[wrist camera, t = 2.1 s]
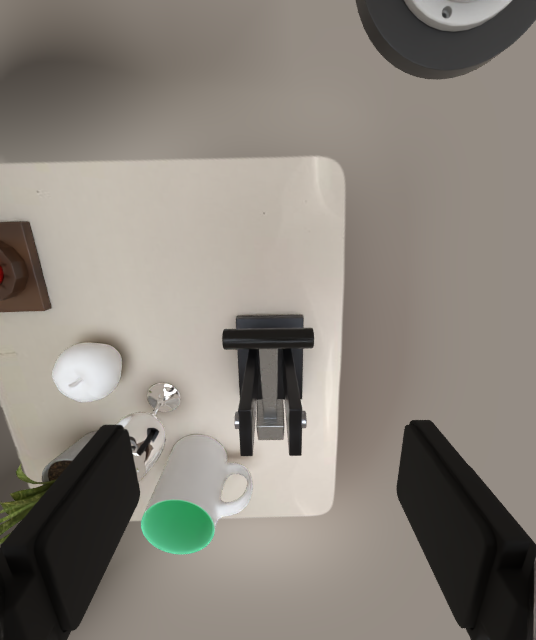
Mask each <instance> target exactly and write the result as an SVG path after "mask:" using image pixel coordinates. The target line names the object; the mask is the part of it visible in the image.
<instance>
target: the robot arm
mask: <svg viewBox="0 0 536 640" xmlns="http://www.w3.org/2000/svg"><path fill="white" fill-rule="evenodd" d="M404 1H405V3H406V5H407V6H408V8H409V9H410V10H411V12H412V13H413V14H414V15H415V16H416V17H417V18H418V19H419V20H421V21H422V22H424V23H425V24H427V25H428V26H430V27H433V28H436V29H438V30H441V31H451V32H456V31H463V30H469V29H471V28H474V27H477V26H480V25H482V24H483V23H485V22H487V21H488V20H490V19H492V18H493V17H495V16H496V15H497V14H498V13H499V12H500V11H502V10H503V9H504V8H505V7H506V6H507V5H508V4H509V3H510V2H511V1H512V0H404ZM397 495H398V498H399V501H400V503H401V505H402V508H403V510H404V512H405V514H406V516H407V518H408V520H409V522H410V524H411V527H412V529H413V531H414V533H415V535H416V537H417V539H418V541H419V543H420V546H421V548H422V550H423V552H424V554H425V556H426V558H427V560H428V562H429V565H430V567H431V569H432V571H433V573H434V575H435V577H436V580H437V582H438V584H439V586H440V588H441V590H442V592H443V594H444V596H445V599H446V601H447V603H448V605H449V607H450V609H451V611H452V613H453V615H454V617H455V620H456V621H457V623H458V624H459V626H460V627H461V628H466V630H467V632H468V634H469V636H470V638H471V640H536V544H535V543H534V542H533V541H532V539H531V538H530V537H529V536H528V535H527V534H526V532H525V531H524V530H523V528H522V527H521V526H520V525H519V524H518V523H517V521H516V520H515V519H514V518H513V517H512V515H511V514H510V513H509V512H508V511H507V510H506V508H505V507H504V506H503V505H502V503H501V502H500V501H499V500H498V499H497V497H496V496H495V495H494V494H493V493H492V492H491V490H490V489H489V488H488V487H487V486H486V484H485V483H484V482H483V481H482V480H481V478H480V477H479V476H478V475H477V474H476V472H475V471H474V470H473V469H472V468H471V467H470V466H469V465H468V464H467V463H466V462H465V461H464V459H463V458H462V457H461V456H460V455H459V453H458V452H457V451H456V450H455V449H454V447H453V446H452V445H451V444H450V443H449V442H448V440H447V439H446V438H445V437H444V435H443V434H442V433H441V432H440V431H439V429H438V428H437V427H436V426H435V425H434V423H433V422H431V421H430V420H412V421H411V422H410V424H409V425H406V426H405V429H404V437H403V444H402V452H401V459H400V467H399V474H398V481H397ZM139 497H140V488H139V483H138V478H137V473H136V467H135V462H134V457H133V452H132V447H131V441H130V436H129V432H128V430H127V429H124V427H123V426H122V425H103V426H102V427H100V429H99V430H98V431H97V432H96V433H95V435H94V436H93V437H92V438H91V439H90V440H89V442H88V443H87V444H86V445H85V446H84V448H83V449H82V450H81V451H80V452H79V453H78V455H77V456H76V457H75V458H74V459H73V461H72V462H71V463H70V464H69V465H68V466H67V468H66V469H65V470H64V471H63V472H62V473H61V475H60V476H59V477H58V478H57V479H56V481H55V482H54V483H53V484H52V485H51V486H50V488H49V489H48V490H47V491H46V492H45V494H44V495H43V496H42V497H41V498H40V499H39V501H38V502H37V503H36V504H35V505H34V507H33V508H32V509H31V510H30V511H29V512H28V514H27V515H26V516H25V517H24V518H23V520H22V521H21V522H20V523H19V524H18V525H17V527H16V528H15V529H14V530H13V531H12V533H11V534H10V535H9V536H8V537H7V538H6V540H5V541H4V542H3V543H2V544H1V548H0V640H67V638H68V636H69V634H70V632H71V630H75V629H76V628H77V627H78V626H79V624H80V623H81V621H82V619H83V617H84V614H85V613H86V610H87V608H88V606H89V604H90V602H91V600H92V598H93V596H94V594H95V592H96V590H97V587H98V585H99V583H100V581H101V579H102V577H103V575H104V573H105V571H106V569H107V567H108V565H109V562H110V560H111V558H112V556H113V554H114V552H115V550H116V548H117V546H118V544H119V542H120V539H121V537H122V535H123V533H124V531H125V529H126V527H127V525H128V523H129V521H130V519H131V516H132V514H133V512H134V510H135V508H136V506H137V504H138V501H139Z"/></svg>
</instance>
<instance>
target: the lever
mask: <svg viewBox="0 0 536 640" xmlns="http://www.w3.org/2000/svg"><path fill="white" fill-rule="evenodd" d="M222 342H223V348H224V349H225V350H231V349H259V356H260V371H261V386H262V399H259V400H257V434H258V440H283V439H284V408H283V399H277V379H278V349H304V348H313V346H314V332H313V329H312V328H264V329H224V331H223V336H222Z"/></svg>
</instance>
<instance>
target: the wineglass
mask: <svg viewBox="0 0 536 640" xmlns="http://www.w3.org/2000/svg"><path fill="white" fill-rule="evenodd" d="M147 399H148V402H149V404H150V405H151V406H152V407H153V408H154V410H153V411H152V413H146V412H135V413H131V414H129V415H126V416H125V417H123V418H122V419H120V420H119V421H118V422H117V423H116V424H115V425H122V426H123V427H124V429H127V430H128V432H129V436H130V441H131V447H132V452H133V457H134V462H135V467H136V473H137V478H138V482H139V481H140V480H141V479H142V478H143V477H144V476H145V475H146V474H147V473H148V471H149V470H150V469H151V468H152V467H153V465H154V464H155V463H156V461H157V460H158V458H159V456H160V455H161V453H162V451H163V448H164V445H165V441H166V432H165V428H164V426H163V424H162V422H161V421H160V420H159V419H158V418H157V417H156V414H157V411H161V412H170V411H173V410H175V409H176V408H177V407H178V406H179V404H180V400H181V397H180V394H179V392H178V390H177V389H176V388H175V387H174V386H172V385H170V384H168V383H157V384H154V385H153V386H151V387H150V388H149V390H148V393H147Z"/></svg>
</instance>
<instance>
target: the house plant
mask: <svg viewBox="0 0 536 640" xmlns="http://www.w3.org/2000/svg"><path fill="white" fill-rule="evenodd" d="M96 432H97V431H93V432H90V433H88V434H86V435H85V436H83V437H82V438H81V439H80V440H78V441H77V442H76V443H74V444H73V445H72V446H71V447H69V448H68V449H67V450H65V451H64V452H63V453H61V454H60V455H59V456H58V457H56V458H55V459H54V460H52V461H51V462H50V463H49V464H48V465H47V466H46V467H45V468H44V470H43V472H42V481H43V482H35V481H32V480H31V479H29V478H28V477H27V476H26V475H25V474H24V473H23V472H22V470H21V465H20V466H19V468H18V469H17V471H16V474H17V476H18V478H19V479H21V480H23V481H25V482H28V483H32V484H43V485H42V486H40V487H37V488H33V489H27V490H21V491H17V492H15V493H12V494H10V495H11V496H12V497H13V499H14V500H15V501H12V502H5V503H2V504H1V505H2V507H3V508H4V510H1V511H0V513H3V512H6V513H7V514H9V516H7V517H5V518H2V519H0V523H1V522H4V521H6V520H8V519H10V518H11V519H10V520H8V521H6V522H5V523H3V524H1V525H0V535H1V534H3V533H4V532H5V531H7V530H8V529H9V528H11V527H12V526H13V525H15V524H16V523H18V522H19V521H21V520H22V519H23V518H24V517H25V516H26V515H27V514H28V512H29V511H30V510H31V509H32V508H33V507H34V505H35V504H36V503H37V502H38V501H39V499H40V498H41V497H42V496H43V495H44V494H45V492H46V491H47V490H48V489H49V488H50V486H51V485H52V484H53V483H54V482H55V481H56V479H57V478H58V477H59V476H60V475H61V473H62V472H63V471H64V470H65V469H66V468H67V466H68V465H69V464H70V463H71V462H72V461H73V459H74V458H75V457H76V456H77V455H78V453H79V452H80V451H81V450H82V449H83V448H84V446H85V445H86V444H87V443H88V442H89V440H90V439H91V438H92V437H93V436H94V435H95V433H96ZM21 464H22V463H21ZM13 516H14V517H13ZM11 533H12V532H11ZM11 533H10V534H11ZM10 534H8V535H7V536H5V537H4V538H2V539H0V544H1V543H3V542H4V541H5V540H6V538H7V537H8V536H9V535H10Z"/></svg>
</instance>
